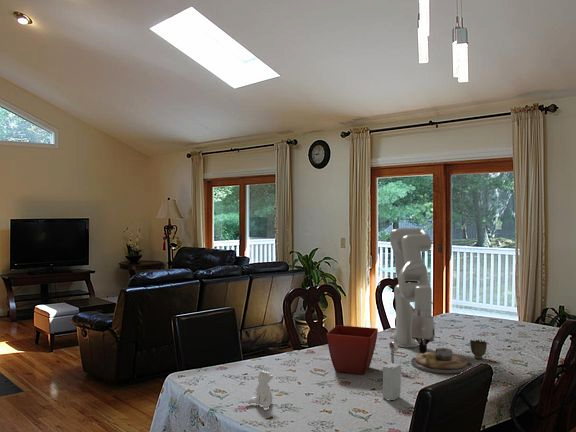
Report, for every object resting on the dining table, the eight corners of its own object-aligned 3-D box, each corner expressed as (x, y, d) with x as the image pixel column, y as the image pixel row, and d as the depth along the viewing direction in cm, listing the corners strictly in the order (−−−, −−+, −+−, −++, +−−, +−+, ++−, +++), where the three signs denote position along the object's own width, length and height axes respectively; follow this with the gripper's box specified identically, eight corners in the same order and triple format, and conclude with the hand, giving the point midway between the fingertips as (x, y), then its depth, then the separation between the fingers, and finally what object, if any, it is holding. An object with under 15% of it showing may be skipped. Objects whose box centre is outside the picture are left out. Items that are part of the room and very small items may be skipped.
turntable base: (400, 366, 231) (400, 363, 231) (427, 354, 250) (427, 351, 250) (456, 378, 214) (456, 375, 214) (481, 364, 233) (481, 361, 233)
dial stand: (384, 368, 228) (384, 340, 228) (390, 365, 232) (390, 338, 232) (396, 371, 224) (396, 343, 224) (402, 368, 228) (402, 341, 228)
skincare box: (390, 394, 195) (390, 362, 195) (401, 397, 192) (401, 364, 192) (382, 399, 190) (382, 366, 190) (393, 402, 187) (393, 368, 187)
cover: (432, 358, 231) (432, 349, 231) (440, 355, 236) (440, 346, 236) (446, 362, 226) (446, 352, 226) (455, 358, 231) (455, 349, 231)
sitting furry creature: (244, 406, 183) (244, 372, 183) (258, 398, 191) (258, 366, 191) (266, 411, 178) (266, 376, 178) (279, 403, 186) (279, 370, 186)
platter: (406, 362, 231) (406, 350, 231) (429, 352, 248) (429, 340, 248) (453, 372, 216) (453, 359, 216) (475, 361, 233) (475, 348, 233)
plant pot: (378, 365, 232) (378, 327, 232) (370, 378, 214) (370, 337, 214) (336, 361, 238) (336, 324, 238) (325, 373, 220) (325, 333, 220)
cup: (488, 361, 239) (488, 343, 239) (471, 360, 240) (471, 342, 240) (485, 356, 246) (485, 339, 246) (469, 355, 248) (469, 339, 248)
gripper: (404, 311, 240) (404, 351, 240) (434, 316, 230) (434, 357, 231) (412, 309, 246) (412, 348, 246) (442, 313, 236) (442, 354, 236)
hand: (422, 352), depth 238 cm, fingers closed
